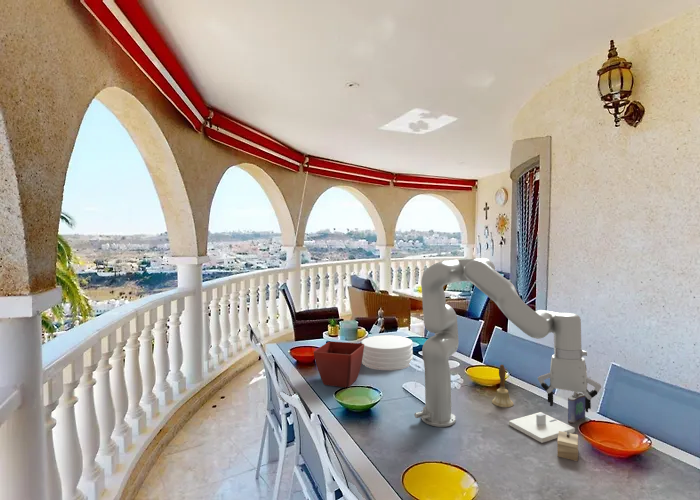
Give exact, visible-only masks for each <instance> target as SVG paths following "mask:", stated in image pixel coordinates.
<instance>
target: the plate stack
mask: <svg viewBox="0 0 700 500" xmlns="http://www.w3.org/2000/svg"><path fill="white" fill-rule="evenodd" d="M361 344H364V351H363V358H362V363H361V365H363V366H364V365H365V367H366V368H368V367H369V368H368V369H372V370H376V371H378V370H380V371H398V370H403V369H406V368H409V367H411V366H410V364H409V363H410V361H411V360H412V359H413V360H414V357H413V356H414V355H413V354H414V351H413V347H414V346H413V340H412V339H410V338H408V337H405V336H400V335H393V334H392V335H389V334H386V335H385V334H384V335H373V336H369V337H366V338H364V339H362V340H361Z"/></svg>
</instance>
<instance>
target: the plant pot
mask: <svg viewBox="0 0 700 500" xmlns="http://www.w3.org/2000/svg"><path fill="white" fill-rule="evenodd" d="M363 351H364V344H362V343H360V342H358V343H356V342H344V341H332V340H331V341H328V342H326V343H325V344H322V345H321V346H320V347H318V348H317V349H315V350H313V356H314V361H315V365H316V368H317V371H318V374H319V376H320V379H321V382H322V383H323V385H324V386H331V387H336V388H337V387H339V388H346V387H347V388H349V387H350V386H352V385H353V384H354V382H356V380H358V378H359V375H360V370H361V368H362V358H363ZM348 386H349V387H348Z"/></svg>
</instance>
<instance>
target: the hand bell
mask: <svg viewBox="0 0 700 500" xmlns="http://www.w3.org/2000/svg"><path fill="white" fill-rule="evenodd" d="M506 373H507V372H506V368H505V365H504V364H500V366H499V368H498V376H499V379H500V381H499V382H500V385H499V388H498V389H496V394H495V396H494V398H493V399H492V400H491V403H492V404H493V405H494V406H496V407H500V408H512V407H514V405H515V404H514V401H513V400H511V397H510V393H509V390H508V389H507V388H506V387H505V379H506V375H507V374H506Z"/></svg>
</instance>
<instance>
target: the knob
mask: <svg viewBox="0 0 700 500" xmlns="http://www.w3.org/2000/svg"><path fill="white" fill-rule="evenodd" d="M556 446H557V457H558V458H562V459H567V460H571V461H574V462H575V461H576V462H578V460H579V434H575V433H570V432H568V431H567V432H562V431H559V433H558V438H557V445H556Z"/></svg>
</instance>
